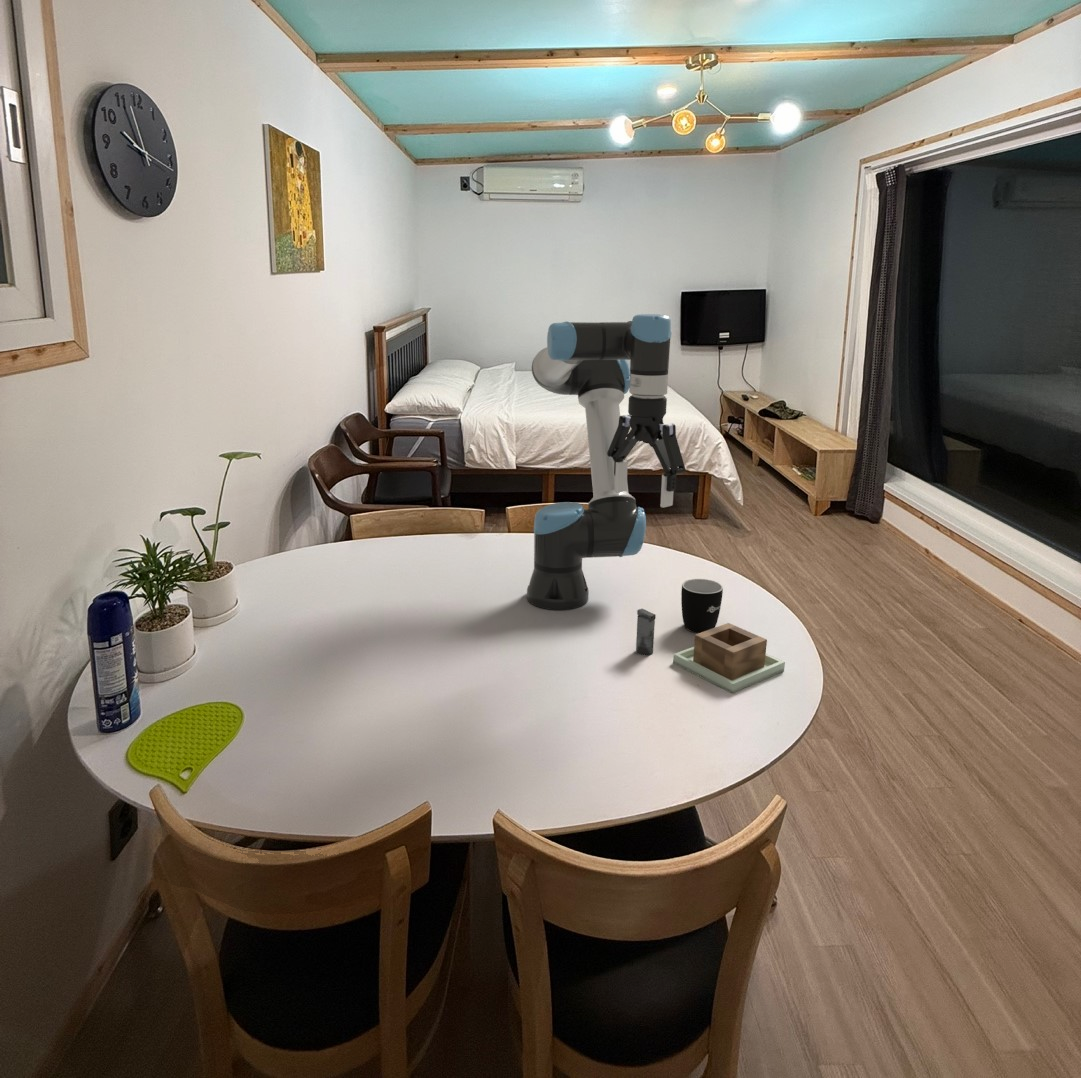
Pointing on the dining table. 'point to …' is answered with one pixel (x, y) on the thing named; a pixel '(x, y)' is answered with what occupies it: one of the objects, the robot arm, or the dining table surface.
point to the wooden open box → (729, 651)
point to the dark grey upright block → (645, 632)
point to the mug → (701, 604)
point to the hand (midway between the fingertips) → (642, 498)
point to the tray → (686, 662)
